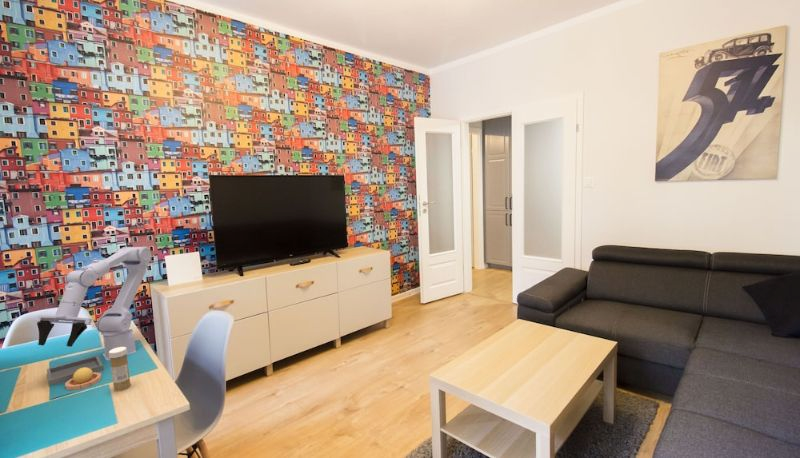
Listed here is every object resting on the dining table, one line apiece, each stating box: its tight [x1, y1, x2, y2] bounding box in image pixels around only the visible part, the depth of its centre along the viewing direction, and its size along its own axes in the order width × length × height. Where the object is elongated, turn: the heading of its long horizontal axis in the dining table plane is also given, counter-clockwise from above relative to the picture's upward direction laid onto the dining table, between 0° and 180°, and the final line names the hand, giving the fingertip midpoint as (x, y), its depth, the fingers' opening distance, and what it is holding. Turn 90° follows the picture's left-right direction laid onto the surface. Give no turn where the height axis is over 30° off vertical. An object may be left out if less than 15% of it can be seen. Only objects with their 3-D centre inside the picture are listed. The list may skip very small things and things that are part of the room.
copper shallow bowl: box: [64, 372, 103, 391], centre depth 123 cm, size 9×9×2 cm
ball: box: [73, 367, 93, 384], centre depth 123 cm, size 5×5×5 cm
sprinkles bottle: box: [109, 347, 132, 393], centre depth 118 cm, size 5×5×13 cm
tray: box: [46, 355, 105, 387], centre depth 130 cm, size 14×12×2 cm
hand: (55, 345), depth 121 cm, fingers open, 7 cm apart
